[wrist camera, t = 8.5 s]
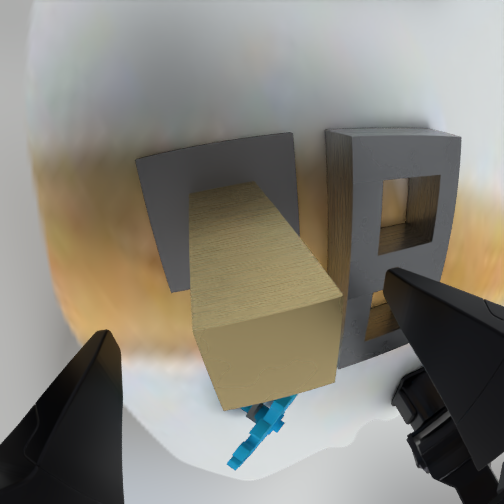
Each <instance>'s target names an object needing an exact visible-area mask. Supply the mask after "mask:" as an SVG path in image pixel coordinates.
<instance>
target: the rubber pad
mask: <svg viewBox="0 0 504 504" xmlns="http://www.w3.org/2000/svg"><path fill="white" fill-rule="evenodd" d="M135 161H136V166H137V170H138V175H139V179H140V183H141V188H142V192H143V196H144V200H145V204H146V208H147V212H148V216H149V219H150V223H151V227H152V230H153V234H154V238H155V241H156V245H157V248H158V252H159V255H160V258H161V262H162V265H163V268H164V272H165V275H166V278H167V281H168V284H169V288H170V291H171V293H173V292H178V291H184V290H189V289H190V258H189V194H190V193H195V192H199V191H204V190H209V189H214V188H219V187H225V186H230V185H235V184H241V183H246V182H252V181H255V183H256V184H257V185H258V186H259V187H260V189H261V190H262V191H263V192H264V194H265V195H266V196H267V197H268V198H269V200H270V201H271V202H272V203H273V205H274V206H275V207H276V208H277V210H278V211H279V212H280V213H281V215H282V216H283V217H284V218H285V220H286V221H287V222H288V223H289V225H290V226H291V227H292V228H293V230H294V231H295V232H296V234H297V235H298V236H299V237H300V233H299V213H298V196H297V181H296V167H295V154H294V141H293V133H281V134H272V135H264V136H256V137H248V138H241V139H235V140H228V141H222V142H216V143H210V144H204V145H199V146H194V147H189V148H183V149H179V150H174V151H169V152H164V153H160V154H156V155H151V156H147V157H143V158H139V159H136V160H135Z"/></svg>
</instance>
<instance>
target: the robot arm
mask: <svg viewBox="0 0 504 504" xmlns="http://www.w3.org/2000/svg"><path fill="white" fill-rule="evenodd" d="M383 294H384V297H385V299H386V301H387V303H388V305H389V307H390V309H391V311H392V312H393V314H394V316H395V318H396V320H397V322H398V325H399V326H400V328H401V330H402V332H403V334H404V335H405V337H406V339H407V340H408V342H409V343H410V345H411V347H412V348H413V350H414V351H415V353H416V355H417V356H418V358H419V360H420V361H421V363H422V365H423V367H424V368H422V369H420V370H418V371H415V372H413V373H411V374H409V375H407V376H405V377H404V378H403V379H402V381H401V383H400V385H399V388H398V390H397V392H396V394H395V397H394V399H393V401H392V403H391V404H392V406H396V407H397V409H398V411H399V412H400V414H401V416H402V417H403V419H404V421H405V423H406V424H411V426H412V428H413V429H414V432H413V433H410V434H409V435H407V437H408V439H407V442H408V443H409V445H410V447H411V449H412V452H413V455H414V458H415V461H416V465H417V467H418V468H422V469H423V470H424V471H425V472H426V473H430V474H431V476H432V477H433V478H434V479H436V480H438V481H440V482H442V483H444V484H447V485H449V486H452V487H454V488H455V489H456V490H457V493H458V495H459V497H460V499H461V501H462V503H463V504H504V462H503V465H502V470H501V475H500V480H499V481H498V479H497V478H496V476H495V474H494V473H493V471H492V469H491V462H492V461H493V460H494V459H496V458H497V457H498V456H499V455H500V454H502V453H503V452H504V306H501V305H498V304H496V303H493V302H490V301H488V300H485V299H484V300H483V298H480V297H478V296H475V295H472V294H470V293H467V292H465V291H462V290H459V289H457V288H454V287H451V286H449V285H446V284H443V283H441V282H438V281H435V280H433V279H430V278H427V277H424V276H422V275H419V274H416V273H413V272H411V271H408V270H405V269H402V268H399V267H395V268H391V269H388V270H387V271H386V274H385V280H384V286H383ZM122 408H123V387H122V367H121V351H120V348H119V346H118V344H117V342H116V341H115V339H114V337H113V335H112V333H111V332H110V331H109V330H107V329H106V330H100V331H97V332H96V333H95V334H94V335H93V336H92V337H91V338H90V339H89V340H88V341H87V343H86V344H85V345H84V346H83V347H82V348H81V349H80V351H79V352H78V353H77V354H76V355H75V356H74V358H73V359H72V360H71V361H70V362H69V363H68V364H67V366H66V367H65V368H64V369H63V370H62V372H61V373H60V374H59V375H58V376H57V377H56V379H55V380H54V381H53V382H52V383H51V385H50V386H49V387H48V388H47V390H46V391H45V392H44V393H43V394H42V396H41V397H40V398H39V399H38V401H37V402H36V405H34V406H33V407H32V408H31V409H30V411H29V412H28V413H27V414H26V416H25V417H24V418H23V419H22V420H21V422H20V423H19V424H18V426H16V428H15V429H14V430H13V431H12V432H11V433H10V434H9V436H8V437H7V438H6V439H5V440H4V441H3V442H2V444H0V504H124V494H123V475H122Z"/></svg>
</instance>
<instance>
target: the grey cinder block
mask: <svg viewBox="0 0 504 504" xmlns="http://www.w3.org/2000/svg"><path fill="white" fill-rule="evenodd" d="M325 138H326V157H327V183H328V275H329V277H330V278H331V279H332V281H333V282H334V283H335V285H336V286H337V287H338V289H339V290H340V291H341V293H342V294H343V295H344V300H343V313H342V324H341V334H340V344H339V353H338V361H337V367H338V369H341V368H344V367H347V366H350V365H353V364H356V363H359V362H361V361H364V360H367V359H370V358H372V357H375V356H378V355H380V354H383V353H386V352H388V351H391V350H393V349H396V348H398V347H401V346H403V345H405V344H408V343H409V342H408V340H407V339H406V337H405V335H404V334H403V332H402V330H401V328H400V326H399V325H398V322H397V320H396V318H395V316H394V314H393V312H392V311H391V309H390V307H389V305H388V303H386V304H383V305H380V306H377V307H374V308H371V301H372V295H373V293H374V292H377V291H380V290H383V286H384V280H385V274H386V271H387V270H388V269H391V268H395V267H399V268H402V269H405V270H408V271H411V272H413V273H416V274H419V275H422V276H424V277H427V278H430V279H433V280H435V281H438V282H440V279H441V275H442V271H443V267H444V263H445V258H446V254H447V249H448V244H449V239H450V234H451V229H452V223H453V217H454V211H455V204H456V197H457V188H458V179H459V168H460V155H461V137H460V136H456V135H453V134H449V133H445V132H441V131H437V130H433V129H427V128H349V129H329V130H325ZM400 178H409V191H408V204H407V214H406V223H404V224H399V225H394V226H389V227H384V228H380V226H381V212H382V194H383V180H390V179H400ZM370 308H371V309H370Z"/></svg>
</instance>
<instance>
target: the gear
mask: <svg viewBox="0 0 504 504" xmlns="http://www.w3.org/2000/svg"><path fill="white" fill-rule="evenodd" d="M296 396H297V394H295V395H291V396H287V397H283V398H280V399H276V400H274V402H273V403H272V405H271V407H270V409H269V408H268V407H266V406H265V405H263V403H264V402H263V403H259V404H255V405H250V406H246V407H241V409H242V410H244V411H245V412H247V415H246V417H247V418H249V419H250V420H252V421H253V422H255V423H256V425H255V426H254V427H253V429H252V430H251V431H250V433H249V434H251V435H250V436H249V438H248V439H247V440H246V441H245V442H243V443H242V444H241V445H240V446H239V447H238V448H237V450H236V451H235V452H234V453H233V457H232V458H231V459H230V460H229V462H228V463H227V465H228V466H230V467H231V468H233V469H234V470H236V469H237V468H238V467H240V466H241V465H242V464H243V462H244V461H245V460H246V459H247V458H248V457H249V456H250V455H251V454H252V453H253V451H254V450H255V449H256V448H257V446H258V445H259V444H260V443H261V441H263V440H264V438H265V437H266V436H267V435H269V434H270V433H271V432H272V431H273V430H274V431H275V432H278V431H279V430H280V428H281V427H282V426H283V424H284V422H283V421H281V419H282V418H283V416H284V415H283V414H284V413H285V410H286V409H287V408H288V406H289V405H290V404H291V403H292V402H293V400H294V399H295V397H296Z"/></svg>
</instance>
